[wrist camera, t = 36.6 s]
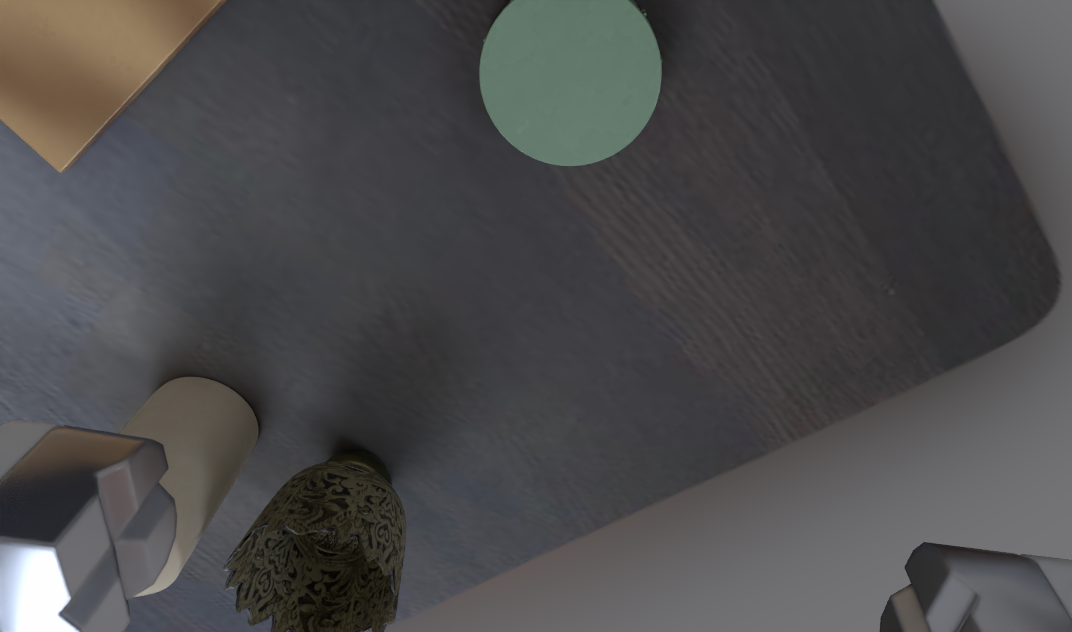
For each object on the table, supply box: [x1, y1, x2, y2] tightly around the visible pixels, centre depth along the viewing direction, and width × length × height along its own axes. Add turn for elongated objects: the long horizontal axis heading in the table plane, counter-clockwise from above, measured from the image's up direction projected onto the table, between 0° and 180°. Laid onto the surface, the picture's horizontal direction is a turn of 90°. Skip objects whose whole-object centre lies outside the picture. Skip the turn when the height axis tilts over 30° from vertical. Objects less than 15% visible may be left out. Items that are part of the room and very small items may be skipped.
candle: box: [119, 377, 259, 597], centre depth 34 cm, size 6×6×10 cm
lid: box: [479, 0, 663, 166], centre depth 28 cm, size 6×6×2 cm
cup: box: [224, 450, 406, 632], centre depth 36 cm, size 8×7×8 cm
